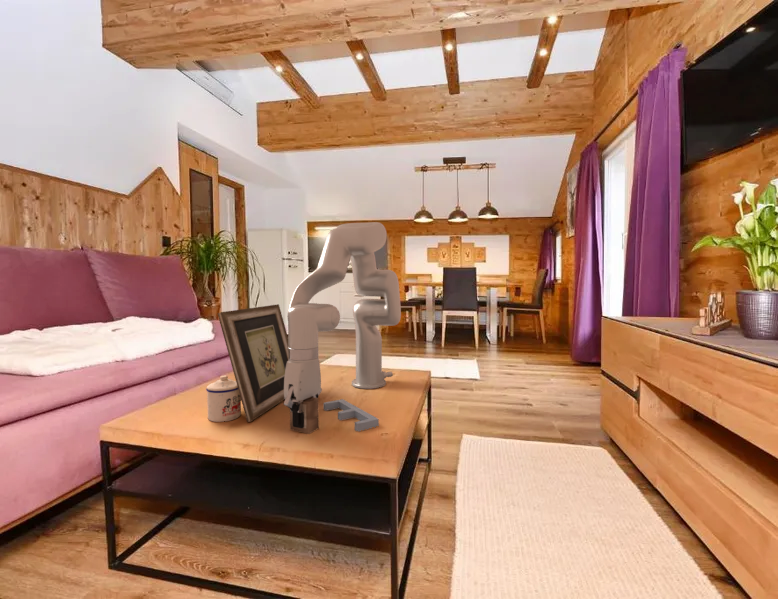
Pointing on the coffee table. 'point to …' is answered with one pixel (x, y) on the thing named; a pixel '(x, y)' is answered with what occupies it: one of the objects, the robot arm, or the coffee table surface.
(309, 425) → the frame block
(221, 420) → the teacup with lid
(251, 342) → the picture frame
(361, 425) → the grey e-shaped bracket
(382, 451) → the coffee table surface
